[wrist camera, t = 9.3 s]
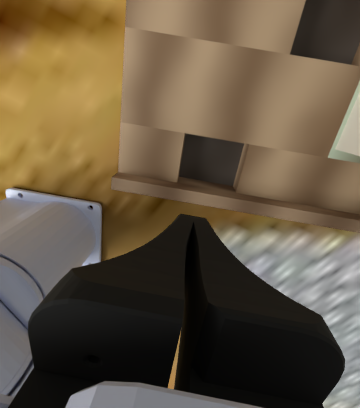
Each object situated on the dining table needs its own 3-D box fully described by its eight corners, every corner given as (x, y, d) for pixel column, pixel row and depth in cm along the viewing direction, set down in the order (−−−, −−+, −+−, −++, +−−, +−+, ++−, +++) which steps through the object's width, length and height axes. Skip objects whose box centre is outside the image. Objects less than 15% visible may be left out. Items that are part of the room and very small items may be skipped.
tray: (124, 177, 21) (111, 189, 18) (138, -56, 15) (122, -102, 11) (357, 217, 21) (387, 237, 18) (473, -1, 14) (552, -33, 11)
